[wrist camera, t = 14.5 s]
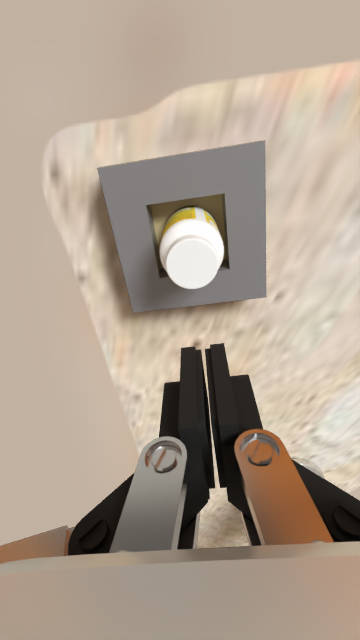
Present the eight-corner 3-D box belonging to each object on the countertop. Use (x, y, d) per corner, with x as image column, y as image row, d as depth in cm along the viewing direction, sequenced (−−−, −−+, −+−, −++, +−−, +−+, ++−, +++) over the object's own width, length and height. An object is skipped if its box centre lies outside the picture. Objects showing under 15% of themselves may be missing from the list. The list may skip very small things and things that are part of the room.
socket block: (258, 282, 35) (266, 297, 31) (138, 297, 36) (133, 312, 32) (255, 141, 28) (265, 140, 25) (107, 165, 29) (97, 167, 26)
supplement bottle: (157, 248, 32) (147, 284, 24) (174, 196, 30) (168, 216, 21) (205, 265, 33) (212, 306, 24) (225, 215, 30) (240, 242, 22)
